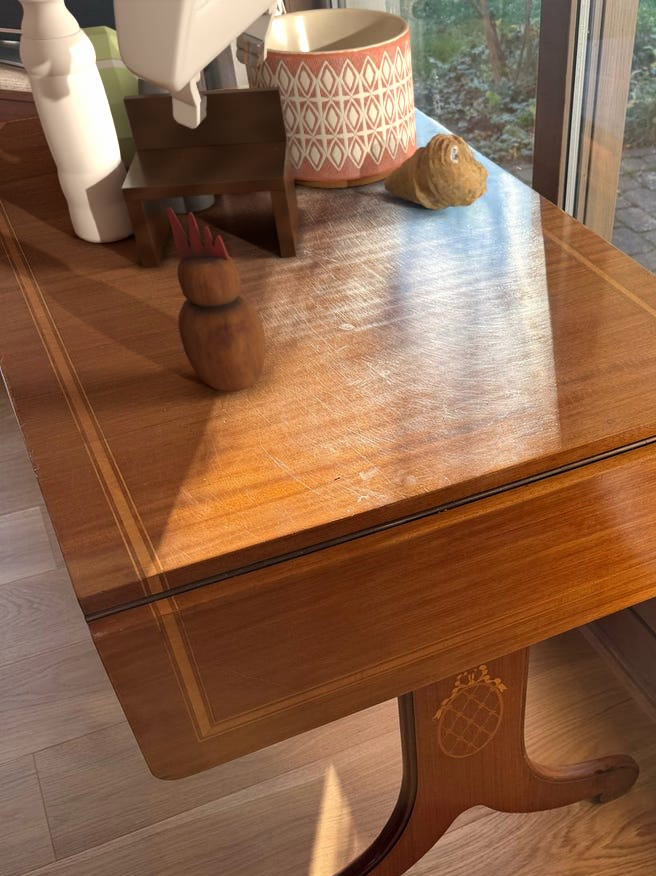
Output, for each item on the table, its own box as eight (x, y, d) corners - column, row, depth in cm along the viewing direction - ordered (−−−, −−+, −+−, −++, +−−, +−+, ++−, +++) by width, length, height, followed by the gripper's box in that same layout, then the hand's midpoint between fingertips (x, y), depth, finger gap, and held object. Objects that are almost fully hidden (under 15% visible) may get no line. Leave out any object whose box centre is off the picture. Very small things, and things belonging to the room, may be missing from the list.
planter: (321, 208, 113) (302, 63, 102) (234, 165, 123) (208, 30, 113) (449, 164, 121) (443, 27, 111) (358, 128, 132) (344, -1, 121)
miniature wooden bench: (142, 267, 103) (106, 134, 93) (157, 221, 111) (124, 95, 102) (296, 256, 104) (275, 123, 94) (298, 212, 112) (279, 86, 103)
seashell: (400, 233, 118) (363, 221, 111) (392, 161, 116) (354, 145, 109) (503, 207, 111) (471, 193, 104) (495, 131, 110) (462, 111, 103)
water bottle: (154, 223, 111) (86, -43, 93) (118, 248, 106) (39, -26, 88) (101, 216, 112) (24, -46, 95) (63, 241, 108) (-25, -30, 90)
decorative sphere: (194, 179, 120) (163, 39, 109) (68, 198, 117) (23, 56, 106) (178, 140, 130) (148, 9, 119) (61, 157, 127) (19, 23, 116)
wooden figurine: (181, 391, 85) (133, 215, 74) (217, 359, 88) (177, 187, 78) (248, 405, 83) (209, 227, 72) (283, 372, 86) (250, 198, 76)
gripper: (252, -206, 64) (246, 13, 76) (83, -100, 53) (106, 140, 64) (340, -168, 64) (321, 45, 76) (191, -54, 53) (195, 177, 64)
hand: (221, 90), depth 70 cm, fingers open, 8 cm apart
